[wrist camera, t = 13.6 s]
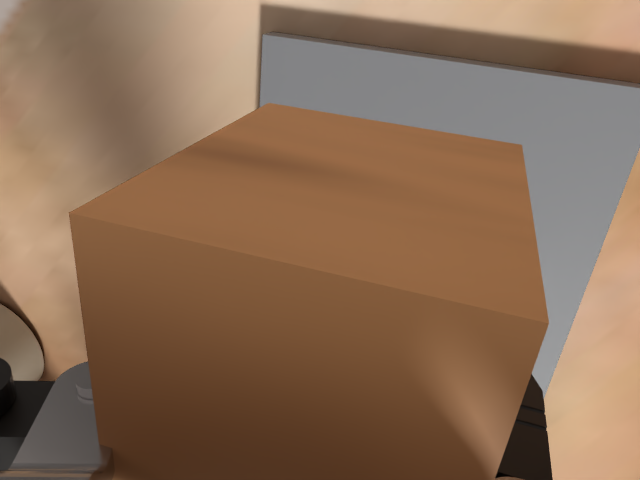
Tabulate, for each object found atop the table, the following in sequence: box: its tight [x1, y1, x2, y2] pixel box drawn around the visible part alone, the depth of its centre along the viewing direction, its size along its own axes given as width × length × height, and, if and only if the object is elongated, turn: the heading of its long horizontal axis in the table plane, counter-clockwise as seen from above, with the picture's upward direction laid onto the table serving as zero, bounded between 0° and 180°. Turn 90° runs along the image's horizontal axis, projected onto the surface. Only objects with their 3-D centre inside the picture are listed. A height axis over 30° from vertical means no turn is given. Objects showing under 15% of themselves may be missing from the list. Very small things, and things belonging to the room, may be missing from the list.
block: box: [69, 103, 549, 480], centre depth 9 cm, size 6×5×6 cm
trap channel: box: [260, 32, 640, 398], centre depth 27 cm, size 23×16×4 cm
